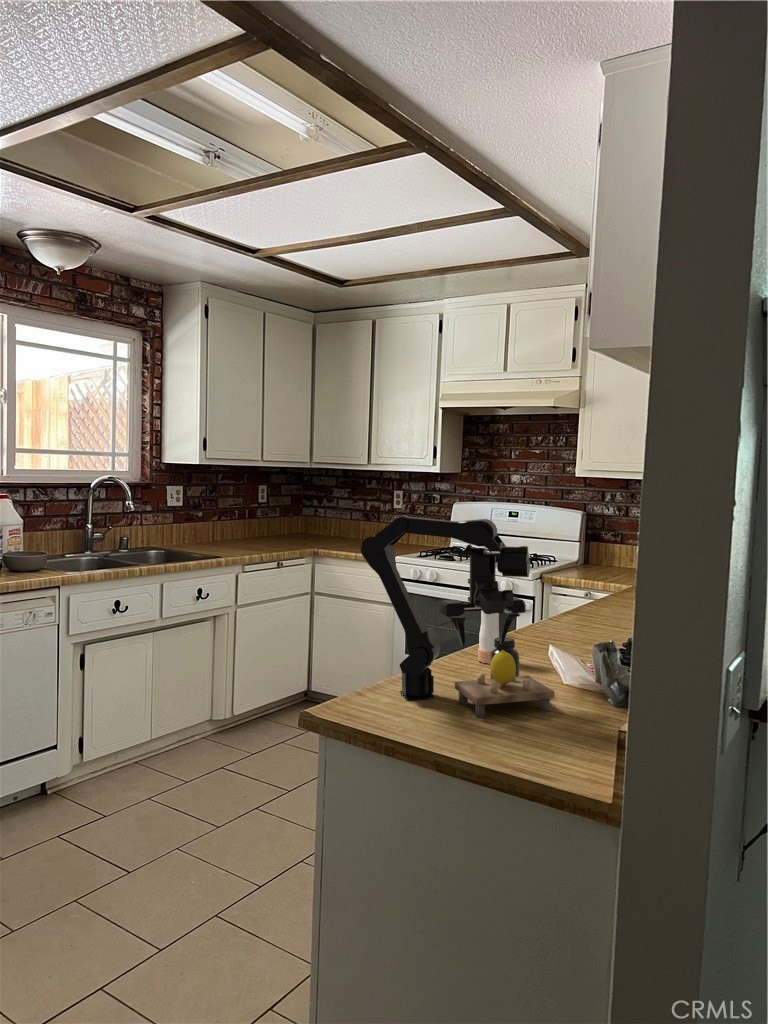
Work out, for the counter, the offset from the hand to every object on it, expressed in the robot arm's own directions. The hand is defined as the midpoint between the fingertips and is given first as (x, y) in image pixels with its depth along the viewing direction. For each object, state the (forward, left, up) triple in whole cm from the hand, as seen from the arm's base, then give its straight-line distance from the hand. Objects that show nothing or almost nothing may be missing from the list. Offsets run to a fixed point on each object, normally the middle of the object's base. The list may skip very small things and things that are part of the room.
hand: (482, 644), depth 173 cm
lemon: (+3, -5, -9) cm, 10 cm away
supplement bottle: (+9, +8, -13) cm, 18 cm away
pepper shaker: (+16, +33, -13) cm, 39 cm away
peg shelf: (+3, -5, -13) cm, 14 cm away
